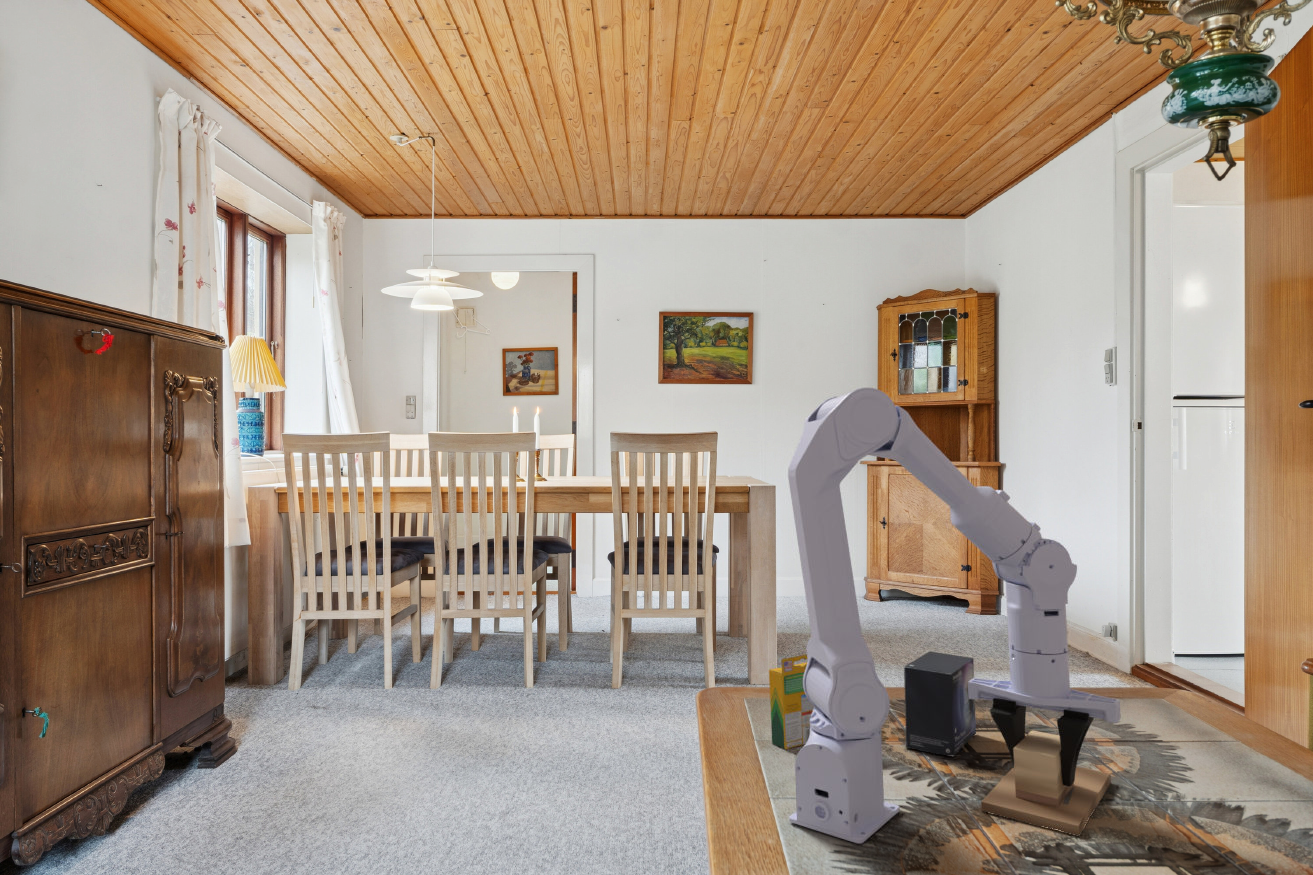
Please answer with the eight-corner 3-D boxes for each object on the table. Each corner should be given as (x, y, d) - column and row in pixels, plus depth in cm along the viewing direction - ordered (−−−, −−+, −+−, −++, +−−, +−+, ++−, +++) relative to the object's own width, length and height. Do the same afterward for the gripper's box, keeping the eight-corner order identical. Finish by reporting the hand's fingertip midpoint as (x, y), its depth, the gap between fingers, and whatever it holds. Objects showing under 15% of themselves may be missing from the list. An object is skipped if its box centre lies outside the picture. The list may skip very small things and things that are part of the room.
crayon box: (812, 732, 103) (809, 647, 104) (827, 739, 101) (824, 651, 101) (770, 743, 99) (767, 654, 100) (785, 750, 97) (781, 659, 98)
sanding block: (1057, 806, 76) (1055, 756, 77) (1015, 796, 79) (1013, 748, 79) (1073, 784, 82) (1071, 737, 82) (1034, 775, 84) (1031, 730, 85)
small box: (956, 759, 92) (952, 672, 93) (904, 749, 96) (900, 666, 97) (979, 734, 101) (975, 655, 101) (930, 726, 105) (926, 649, 105)
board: (1078, 836, 72) (1078, 825, 72) (981, 811, 78) (981, 801, 78) (1110, 782, 84) (1110, 773, 85) (1024, 764, 90) (1024, 755, 90)
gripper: (1122, 650, 79) (1130, 781, 79) (980, 634, 89) (985, 751, 88) (1109, 663, 74) (1117, 805, 73) (959, 645, 84) (965, 770, 83)
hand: (1044, 777), depth 80 cm, fingers closed on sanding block, 4 cm apart
